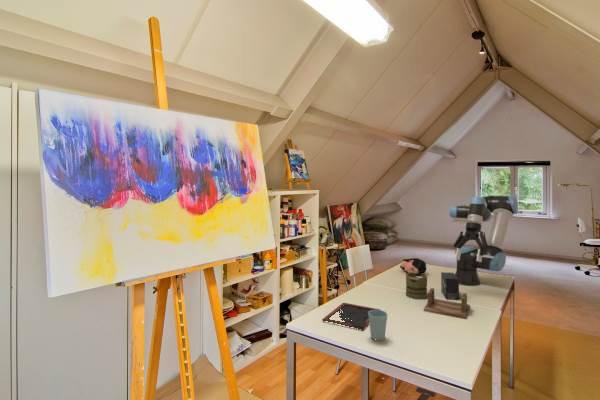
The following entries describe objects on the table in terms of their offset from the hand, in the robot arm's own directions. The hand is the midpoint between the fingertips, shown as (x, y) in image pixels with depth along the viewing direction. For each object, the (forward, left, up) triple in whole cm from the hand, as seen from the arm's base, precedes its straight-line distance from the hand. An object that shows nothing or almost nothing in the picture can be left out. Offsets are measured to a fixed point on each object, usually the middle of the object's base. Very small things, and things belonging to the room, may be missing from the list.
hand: (467, 260), depth 178 cm
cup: (+69, -26, -22) cm, 77 cm away
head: (-39, -39, -22) cm, 60 cm away
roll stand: (+20, -7, -22) cm, 30 cm away
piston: (+8, -25, -22) cm, 34 cm away
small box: (-2, -9, -22) cm, 24 cm away
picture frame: (+54, -44, -23) cm, 73 cm away
